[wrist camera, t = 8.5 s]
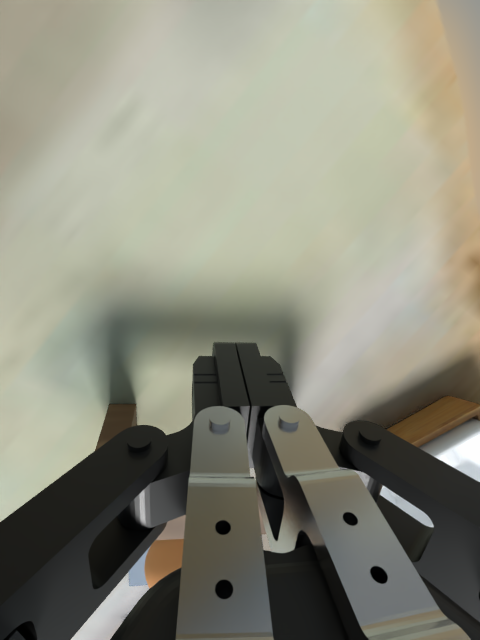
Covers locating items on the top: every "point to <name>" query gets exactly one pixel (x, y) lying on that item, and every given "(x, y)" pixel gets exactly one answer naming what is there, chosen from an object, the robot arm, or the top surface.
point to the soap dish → (442, 441)
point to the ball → (163, 559)
